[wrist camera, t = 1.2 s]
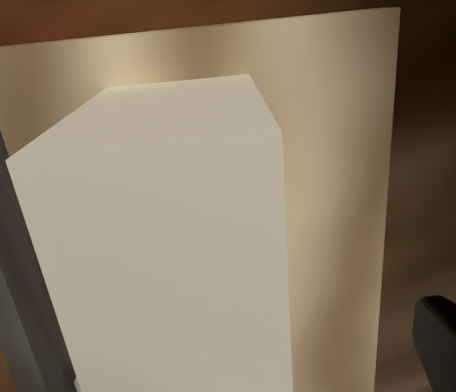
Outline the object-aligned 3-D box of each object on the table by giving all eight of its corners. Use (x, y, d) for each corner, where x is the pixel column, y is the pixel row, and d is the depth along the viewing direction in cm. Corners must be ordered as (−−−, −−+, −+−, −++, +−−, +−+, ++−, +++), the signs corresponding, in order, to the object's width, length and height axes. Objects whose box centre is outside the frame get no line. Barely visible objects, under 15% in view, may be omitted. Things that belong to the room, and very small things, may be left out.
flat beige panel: (381, 7, 14) (442, 6, 10) (358, 444, 23) (386, 526, 19) (-38, 50, 14) (-126, 64, 10) (102, 468, 23) (81, 554, 19)
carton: (249, 73, 13) (282, 132, 7) (262, 264, 16) (294, 430, 10) (105, 88, 13) (4, 160, 7) (144, 275, 16) (100, 448, 10)
